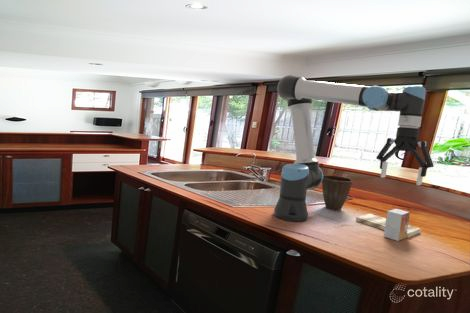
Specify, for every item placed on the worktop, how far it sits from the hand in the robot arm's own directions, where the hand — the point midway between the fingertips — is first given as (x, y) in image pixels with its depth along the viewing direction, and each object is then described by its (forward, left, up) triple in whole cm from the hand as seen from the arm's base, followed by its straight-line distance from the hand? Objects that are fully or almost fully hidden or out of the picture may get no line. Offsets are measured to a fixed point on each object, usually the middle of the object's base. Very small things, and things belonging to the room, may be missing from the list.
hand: (400, 181), depth 114 cm
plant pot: (-34, +10, -22) cm, 42 cm away
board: (-6, +8, -22) cm, 24 cm away
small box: (+2, -2, -22) cm, 23 cm away
